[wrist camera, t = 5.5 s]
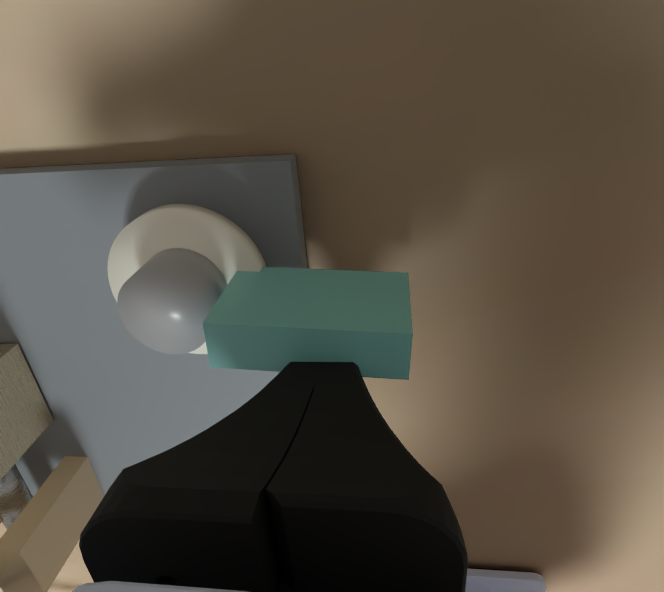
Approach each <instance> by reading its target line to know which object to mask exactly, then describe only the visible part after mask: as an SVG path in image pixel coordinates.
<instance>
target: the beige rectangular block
mask: <svg viewBox="0 0 664 592" xmlns="http://www.w3.org/2000/svg"><path fill="white" fill-rule="evenodd" d="M52 421H53V418H52V416H51V414H50V412H49V410H48V407H47V405H46V403H45V401H44V399H43V397H42V395H41V392H40V390H39V388H38V386H37V384H36V382H35V380H34V377H33V375H32V373H31V371H30V369H29V367H28V365H27V362H26V360H25V358H24V356H23V354H22V352H21V350H20V347H19V345H18V344H0V519H1V521H2V522H3V524H4V526H5V527H6V529H7V530H8V529H9V527H10V526H11V525H12V523H13V522H14V521H15V520H16V518H17V517H18V516H19V514H20V513H21V512H22V511H23V509H24V508H25V507H26V505H27V504H28V503H29V502H30V500H31V499H32V498H33V496H32V494H31V492H30V490H29V488H28V487H27V485H26V483H25V481H24V479H23V477H22V476H21V474H20V472H19V470H18V468H17V467H16V465H15V463H16V462H17V461H18V460H19V458H20V457H21V456H22V455H23V454H24V453H25V452H26V450H27V449H28V448H29V447H30V446H31V445H32V444H33V443H34V441H35V440H36V439H37V438H38V437H39V436H40V435H41V433H42V432H43V431H44V430H45V429H46V428H47V427H48V425H49V424H50V423H51V422H52Z"/></svg>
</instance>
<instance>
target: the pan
mask: <svg viewBox="0 0 664 592" xmlns="http://www.w3.org/2000/svg"><path fill="white" fill-rule="evenodd" d="M107 268H108V279H109V284H110V287H111V290H112V293H113V296H114V298H115V300H116V302H117V307H118V312H119V315H120V318H121V320H122V322H123V324H124V326H125V327H126V329H127V330H128V331H129V333H130V334H131V335H132V336H133V337H134V338H136V339H137V340H138V341H139V342H141V343H142V344H144V345H145V346H147V347H149V348H151V349H153V350H155V351H159V352H162V353H166V354H185V353H193V354H208V359H209V365H210V367H211V368H228V369H244V370H260V371H276V372H281V371H282V370H283V368H284V367H285V366H286V365H287V364H289V363H290V362H354V363H355V364H356V365H358V367H359V370H360V372H361V375H362V377H373V378H389V379H405V380H409V369H410V357H411V346H412V335H413V333H412V319H411V305H410V292H409V278H408V273H402V272H377V271H352V270H326V269H301V268H276V267H266V264H265V262H264V259H263V257H262V255H261V253H260V251H259V250H258V248H257V246H256V245H255V244H254V242H253V241H252V240H251V238H250V237H249V236H248V235H247V234H246V233H245V232H244V231H243V230H242V229H241V228H240V227H239V226H237V225H236V224H235V223H234V222H232V221H231V220H229V219H228V218H226V217H224V216H223V215H221V214H219V213H217V212H215V211H212V210H209V209H206V208H204V207H200V206H195V205H189V204H169V205H164V206H159V207H156V208H154V209H151V210H149V211H147V212H145V213H143V214H142V215H141V216H139V217H138V218H136V219H135V220H134V221H132V222H131V223H130V224H128V225H127V226H126V227H125V228H124V229H123V230H122V231H121V232H120V233H119V234H118V236H117V237H116V239H115V240H114V242H113V244H112V247H111V249H110V253H109V257H108V266H107Z"/></svg>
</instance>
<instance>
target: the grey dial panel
mask: <svg viewBox="0 0 664 592" xmlns="http://www.w3.org/2000/svg"><path fill="white" fill-rule="evenodd" d="M169 204H189V205H195V206H200V207H204V208H206V209H209V210H212V211H215V212H217V213H219V214H221V215H223V216H224V217H226V218H228V219H229V220H231V221H232V222H234V223H235V224H236V225H237V226H239V227H240V228H241V229H242V230H243V231H244V232H245V233H246V234H247V235H248V236H249V237H250V238H251V240H252V241H253V242H254V244H255V245H256V246H257V248H258V250H259V251H260V253H261V255H262V257H263V259H264V262H265V264H266V267H276V268H301V269H308V267H307V257H306V248H305V238H304V229H303V219H302V210H301V200H300V191H299V181H298V171H297V162H296V154H286V155H265V156H245V157H225V158H205V159H184V160H164V161H144V162H123V163H103V164H83V165H63V166H42V167H22V168H2V169H0V344H18V345H19V347H20V350H21V352H22V354H23V356H24V358H25V360H26V362H27V365H28V367H29V369H30V371H31V373H32V375H33V377H34V380H35V382H36V384H37V386H38V388H39V390H40V392H41V395H42V397H43V399H44V401H45V403H46V405H47V407H48V410H49V412H50V414H51V416H52V418H53V421H52V422H51V423H50V424H49V425H48V427H47V428H46V429H45V430H44V431H43V432H42V433H41V435H40V436H39V437H38V438H37V439H36V440H35V441H34V443H33V444H32V445H31V446H30V447H29V448H28V449H27V450H26V452H25V453H24V454H23V455H22V456H21V457H20V458H19V460H18V461H17V462H16V463H15V465H16V467H17V468H18V470H19V472H20V474H21V476H22V477H23V479H24V481H25V483H26V485H27V487H28V488H29V490H30V492H31V494H32V496H33V498H32V499H31V500H30V502H29V503H28V504H27V505H26V507H25V508H24V509H23V511H22V512H21V513H20V514H19V516H18V517H17V518H16V520H15V521H14V522H13V523H12V525H11V526H10V527H9V529H8V530H7V531H6V532H5V534H4V535H3V536H2V538H1V539H0V592H47V591H48V589H49V588H50V586H51V584H52V583H53V581H54V580H55V578H56V576H57V575H58V573H59V572H60V570H61V568H62V567H63V565H64V563H65V562H66V560H67V559H68V557H69V555H70V554H71V552H72V551H73V549H74V547H75V546H76V544H77V542H78V541H79V539H80V534H81V532H82V531H83V529H84V528H85V526H86V524H87V523H88V521H89V520H90V518H91V516H92V515H93V513H94V512H95V510H96V508H97V507H98V505H99V504H100V502H101V501H102V499H103V497H104V496H105V494H106V493H107V491H108V489H109V488H110V486H111V485H112V484H113V482H114V481H115V479H116V478H117V477H118V475H119V474H120V473H121V471H122V470H123V469H124V468H127V467H129V466H132V465H134V464H137V463H139V462H141V461H144V460H146V459H148V458H150V457H153V456H155V455H157V454H160V453H162V452H164V451H166V450H168V449H171V448H173V447H175V446H177V445H179V444H181V443H182V442H184V441H186V440H188V439H190V438H192V437H194V436H196V435H197V434H199V433H201V432H203V431H204V430H206V429H208V428H209V427H211V426H212V425H214V424H216V423H217V422H219V421H220V420H222V419H223V418H225V417H226V416H228V415H229V414H231V413H232V412H234V411H235V410H237V409H238V408H240V407H241V406H242V405H243V404H245V403H246V402H247V401H249V400H250V399H251V398H253V397H254V396H255V395H256V394H257V393H258V392H260V391H261V390H262V389H263V388H264V387H265V386H266V385H267V384H268V383H269V382H270V381H271V380H272V379H273V378H274V377H276V376H277V375H278V374H279V373H280V372H276V371H260V370H244V369H228V368H211V367H210V365H209V359H208V354H193V353H185V354H166V353H162V352H159V351H155V350H153V349H151V348H149V347H147V346H145V345H144V344H142V343H141V342H139V341H138V340H137V339H136V338H134V337H133V336H132V335H131V334H130V333H129V331H128V330H127V329H126V327H125V326H124V324H123V322H122V320H121V318H120V315H119V312H118V307H117V302H116V300H115V298H114V296H113V293H112V290H111V287H110V284H109V279H108V268H107V266H108V257H109V253H110V249H111V247H112V244H113V242H114V240H115V239H116V237H117V236H118V234H119V233H120V232H121V231H122V230H123V229H124V228H125V227H126V226H127V225H128V224H130V223H131V222H132V221H134V220H135V219H136V218H138V217H139V216H141V215H142V214H143V213H145V212H147V211H149V210H151V209H154V208H156V207H159V206H164V205H169ZM1 522H2V521H1V519H0V523H1Z"/></svg>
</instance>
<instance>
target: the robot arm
mask: <svg viewBox="0 0 664 592" xmlns="http://www.w3.org/2000/svg"><path fill="white" fill-rule="evenodd" d="M79 547H80V550H81V553H82V557H83V560H84V563H85V565H86V567H87V569H88V571H89V573H90V575H91V577H92V579H93V581H94V583H86V584H83V585H80V586H78V587H77V588H76V589H75V590H74V591H72V592H545V590H546V584H545V580H544V578H543V577H542V576H541V575H539V574H537V573H531V572H515V571H499V570H484V569H468V560H467V551H466V547H465V543H464V539H463V536H462V533H461V529H460V526H459V524H458V521H457V518H456V516H455V513H454V511H453V509H452V506H451V504H450V502H449V500H448V497H447V495H446V493H445V491H444V489H443V487H442V485H441V484H440V483H439V482H438V481H437V480H436V479H435V478H434V477H432V476H431V475H430V474H429V473H428V472H427V471H426V470H425V469H424V468H423V467H422V466H421V465H420V464H419V463H418V462H417V461H416V459H415V458H414V457H413V456H412V455H411V454H410V453H409V452H408V451H407V449H406V448H405V447H404V446H403V444H402V443H401V442H400V440H399V439H398V438H397V437H396V435H395V434H394V433H393V431H392V430H391V429H390V427H389V426H388V424H387V423H386V421H385V420H384V418H383V417H382V415H381V414H380V412H379V410H378V408H377V407H376V405H375V403H374V401H373V400H372V398H371V396H370V394H369V391H368V389H367V387H366V385H365V383H364V380H363V378H362V375H361V372H360V370H359V367H358V365H356V364H355V363H354V362H290V363H289V364H287V365H286V366H285V367H284V368H283V370H282V371H281V372H280V373H279V374H278V375H277V376H276V377H274V378H273V379H272V380H271V381H270V382H269V383H268V384H267V385H266V386H265V387H264V388H263V389H262V390H261V391H260V392H258V393H257V394H256V395H255V396H254V397H253V398H251V399H250V400H249V401H247V402H246V403H245V404H243V405H242V406H241V407H240V408H238V409H237V410H235V411H234V412H232V413H231V414H229V415H228V416H226V417H225V418H223V419H222V420H220V421H219V422H217V423H216V424H214V425H212V426H211V427H209V428H208V429H206V430H204V431H203V432H201V433H199V434H197V435H196V436H194V437H192V438H190V439H188V440H186V441H184V442H182V443H181V444H179V445H177V446H175V447H173V448H171V449H168V450H166V451H164V452H162V453H160V454H157V455H155V456H153V457H150V458H148V459H146V460H144V461H141V462H139V463H137V464H134V465H132V466H129V467H127V468H124V469H123V470H122V471H121V473H120V474H119V475H118V477H117V478H116V479H115V481H114V482H113V484H112V485H111V486H110V488H109V489H108V491H107V493H106V494H105V496H104V497H103V499H102V501H101V502H100V504H99V505H98V507H97V508H96V510H95V512H94V513H93V515H92V516H91V518H90V520H89V521H88V523H87V524H86V526H85V528H84V529H83V531H82V532H81V534H80V543H79Z"/></svg>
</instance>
